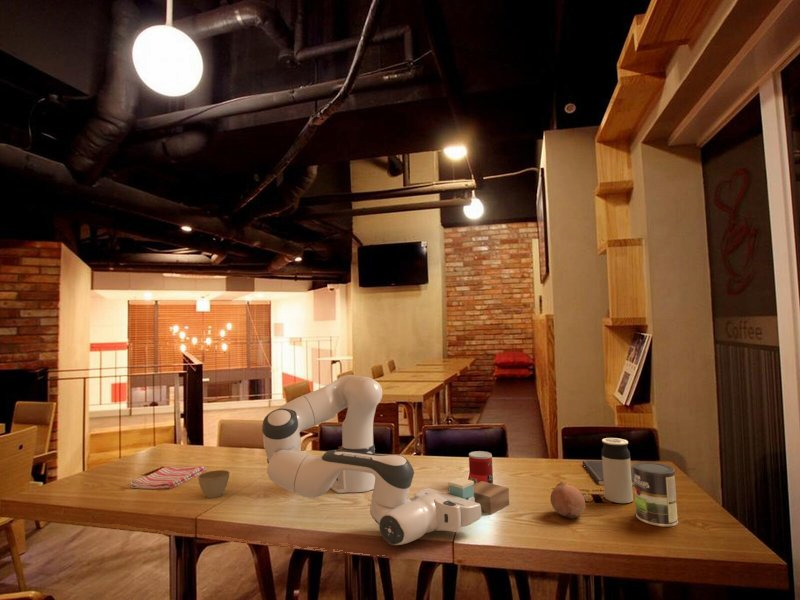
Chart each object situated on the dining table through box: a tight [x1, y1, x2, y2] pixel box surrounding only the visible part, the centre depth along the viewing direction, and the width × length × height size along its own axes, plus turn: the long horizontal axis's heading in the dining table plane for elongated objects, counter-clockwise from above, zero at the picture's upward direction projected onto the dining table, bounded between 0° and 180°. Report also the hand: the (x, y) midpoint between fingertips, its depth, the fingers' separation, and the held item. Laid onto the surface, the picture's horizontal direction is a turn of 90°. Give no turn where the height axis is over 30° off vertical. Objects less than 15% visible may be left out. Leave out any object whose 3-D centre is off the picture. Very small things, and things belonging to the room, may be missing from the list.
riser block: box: [473, 481, 510, 516], centre depth 136 cm, size 10×10×5 cm
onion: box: [549, 481, 586, 520], centre depth 127 cm, size 10×9×10 cm
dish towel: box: [129, 466, 207, 490], centre depth 172 cm, size 17×23×4 cm
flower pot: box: [197, 469, 231, 499], centre depth 152 cm, size 10×10×7 cm
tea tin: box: [448, 477, 474, 500], centre depth 128 cm, size 5×5×10 cm
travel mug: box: [601, 437, 634, 504], centre depth 138 cm, size 8×8×18 cm
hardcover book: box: [581, 460, 635, 487], centre depth 161 cm, size 16×23×2 cm
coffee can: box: [632, 461, 679, 528], centre depth 123 cm, size 10×10×14 cm
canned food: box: [468, 450, 494, 485], centre depth 153 cm, size 8×8×11 cm
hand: (463, 496), depth 129 cm, fingers closed on tea tin, 5 cm apart
